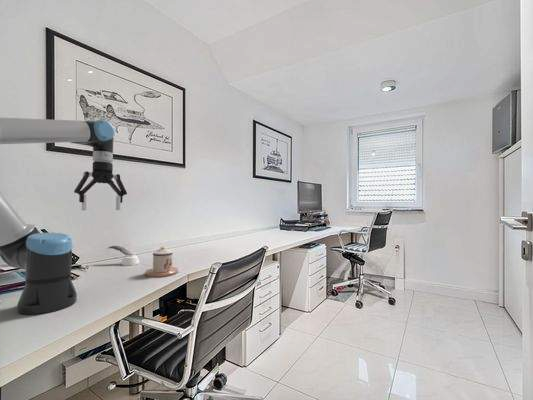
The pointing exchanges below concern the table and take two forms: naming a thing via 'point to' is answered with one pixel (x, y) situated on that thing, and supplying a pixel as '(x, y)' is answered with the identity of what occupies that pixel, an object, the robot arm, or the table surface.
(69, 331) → the table surface
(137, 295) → the table surface
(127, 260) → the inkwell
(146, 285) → the table surface
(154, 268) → the teacup with lid
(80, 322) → the table surface
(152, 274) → the dish
